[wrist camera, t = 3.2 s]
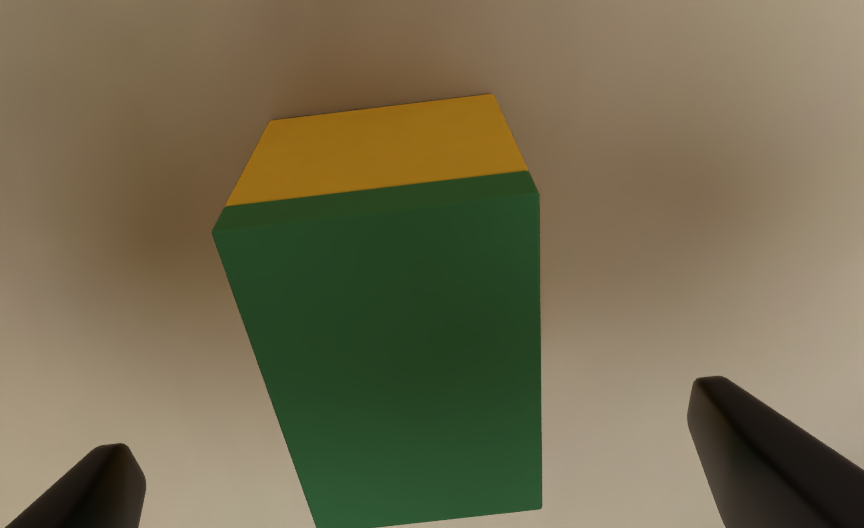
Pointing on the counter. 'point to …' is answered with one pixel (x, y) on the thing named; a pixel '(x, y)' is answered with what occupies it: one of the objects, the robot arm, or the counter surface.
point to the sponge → (395, 308)
